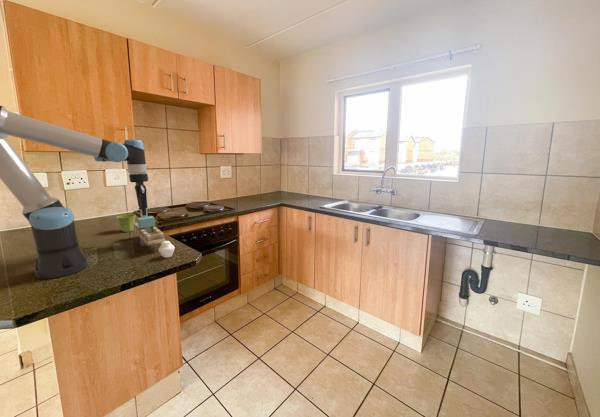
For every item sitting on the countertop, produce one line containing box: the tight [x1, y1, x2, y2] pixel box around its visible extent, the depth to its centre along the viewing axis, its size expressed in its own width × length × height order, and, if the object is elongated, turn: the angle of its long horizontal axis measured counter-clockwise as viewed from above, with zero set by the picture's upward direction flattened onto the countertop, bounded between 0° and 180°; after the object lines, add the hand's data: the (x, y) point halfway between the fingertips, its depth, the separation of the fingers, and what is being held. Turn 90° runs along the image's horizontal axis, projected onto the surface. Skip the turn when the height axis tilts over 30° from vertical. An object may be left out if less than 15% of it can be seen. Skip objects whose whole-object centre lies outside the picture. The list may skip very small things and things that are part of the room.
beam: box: [133, 221, 166, 248], centre depth 128 cm, size 32×7×8 cm, turn 41°
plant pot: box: [116, 213, 137, 233], centre depth 151 cm, size 9×9×9 cm
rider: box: [136, 215, 156, 233], centre depth 127 cm, size 5×6×7 cm
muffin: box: [158, 240, 175, 259], centre depth 112 cm, size 6×6×7 cm
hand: (145, 221), depth 130 cm, fingers closed
